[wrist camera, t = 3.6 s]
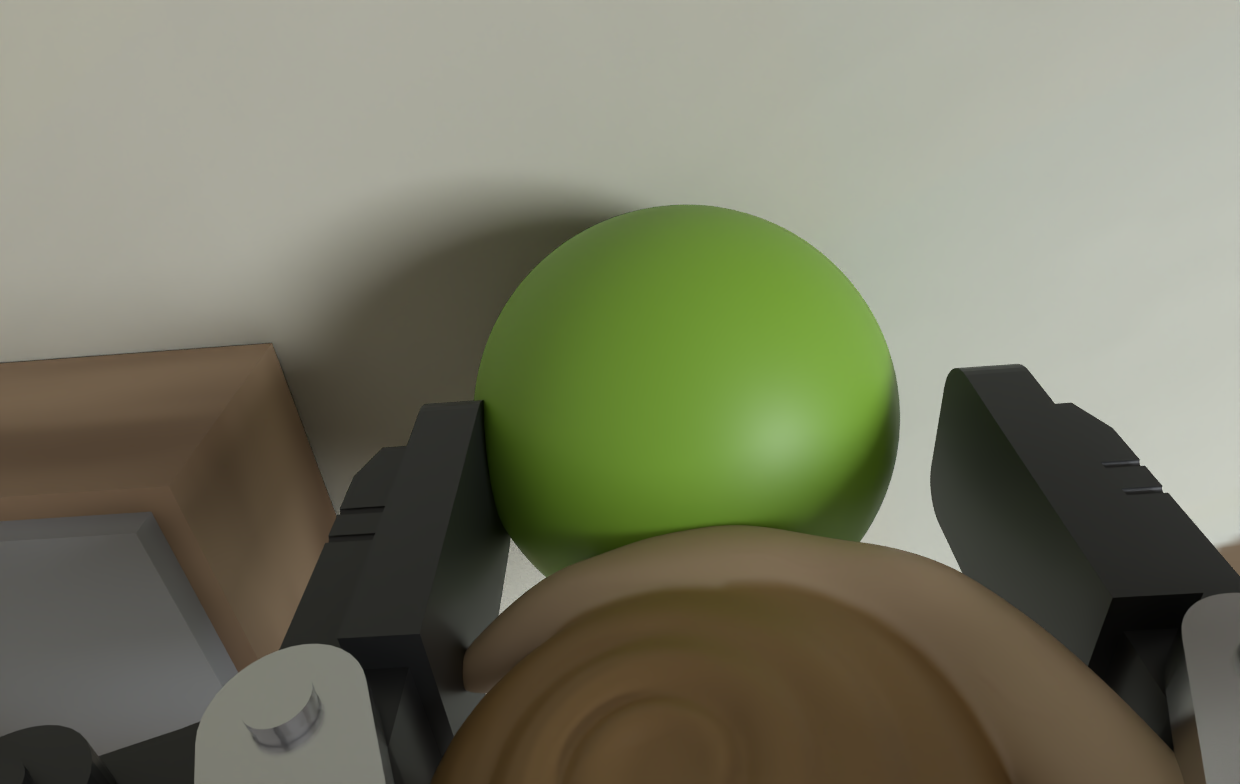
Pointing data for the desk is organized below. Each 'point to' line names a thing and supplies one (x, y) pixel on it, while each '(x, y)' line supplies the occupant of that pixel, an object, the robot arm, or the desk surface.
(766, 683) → the snail figurine
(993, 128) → the desk surface
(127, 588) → the plinth
